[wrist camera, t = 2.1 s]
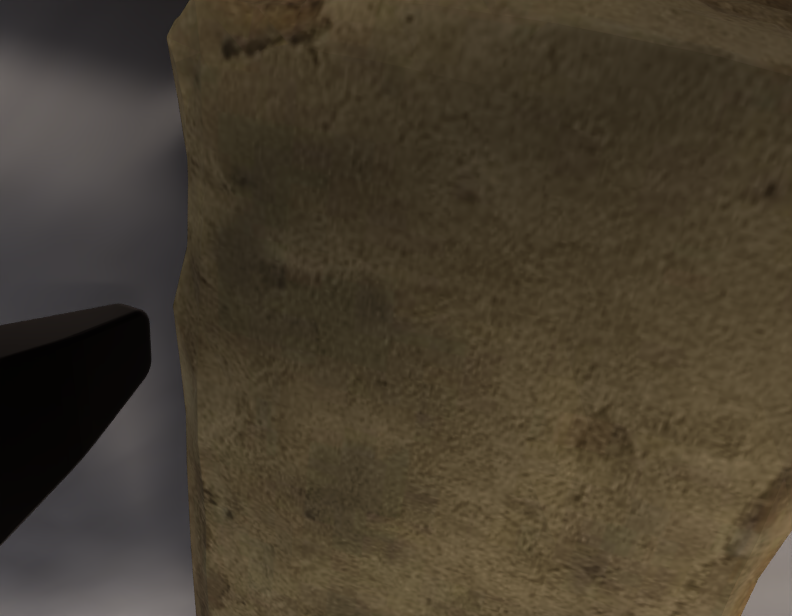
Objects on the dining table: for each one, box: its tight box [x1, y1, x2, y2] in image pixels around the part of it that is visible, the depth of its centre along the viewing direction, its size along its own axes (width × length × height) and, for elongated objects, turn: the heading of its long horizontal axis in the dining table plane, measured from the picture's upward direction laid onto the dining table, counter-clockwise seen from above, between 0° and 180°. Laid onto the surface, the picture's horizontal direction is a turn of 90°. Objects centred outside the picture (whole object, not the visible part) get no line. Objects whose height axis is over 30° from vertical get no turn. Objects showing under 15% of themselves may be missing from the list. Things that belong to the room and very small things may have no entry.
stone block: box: [166, 0, 792, 616], centre depth 9 cm, size 6×12×5 cm, turn 175°
